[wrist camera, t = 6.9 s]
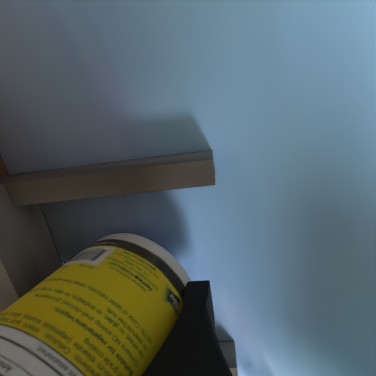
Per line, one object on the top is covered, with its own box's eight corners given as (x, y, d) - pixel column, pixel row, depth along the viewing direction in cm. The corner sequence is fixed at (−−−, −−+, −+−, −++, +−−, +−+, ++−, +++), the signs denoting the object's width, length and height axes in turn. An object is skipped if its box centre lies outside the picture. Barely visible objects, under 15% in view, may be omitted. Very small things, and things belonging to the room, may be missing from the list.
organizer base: (240, 398, 16) (246, 462, 14) (-7, 398, 19) (-45, 453, 16) (199, 42, 10) (194, 24, 7) (-184, 111, 12) (-306, 118, 9)
